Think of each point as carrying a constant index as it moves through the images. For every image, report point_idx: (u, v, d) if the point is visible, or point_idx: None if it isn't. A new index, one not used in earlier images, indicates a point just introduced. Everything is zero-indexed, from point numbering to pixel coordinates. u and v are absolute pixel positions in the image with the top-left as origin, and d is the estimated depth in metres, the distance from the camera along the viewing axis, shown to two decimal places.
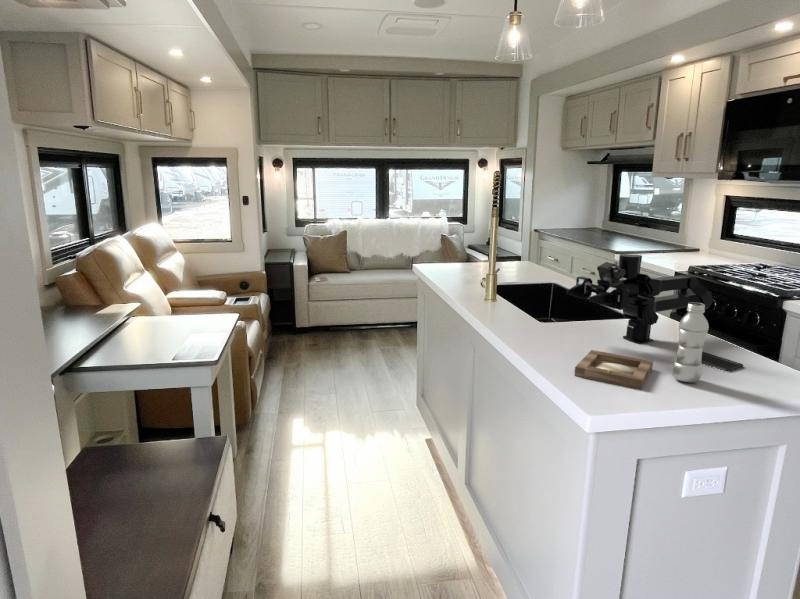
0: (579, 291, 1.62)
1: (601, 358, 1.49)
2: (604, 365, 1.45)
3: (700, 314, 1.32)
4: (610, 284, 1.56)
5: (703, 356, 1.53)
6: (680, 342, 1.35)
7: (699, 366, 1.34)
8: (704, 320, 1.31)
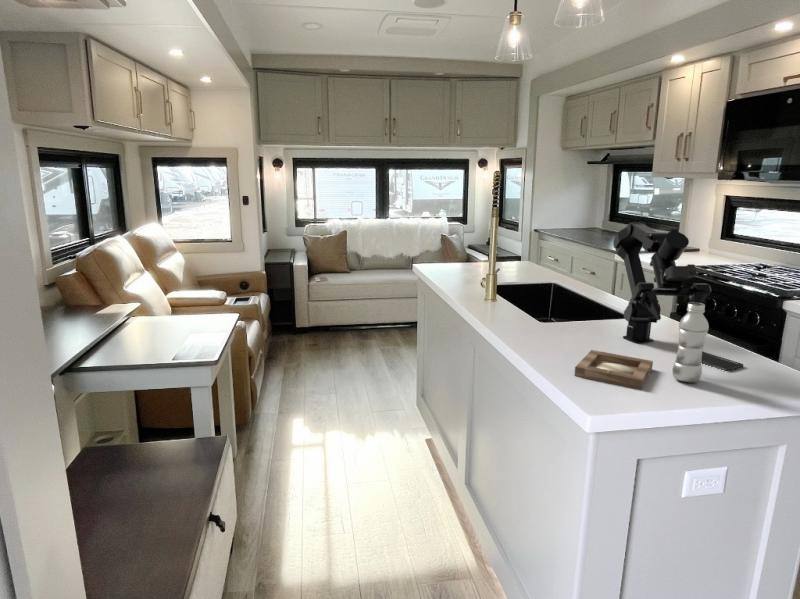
0: None
1: (601, 358, 1.49)
2: (604, 365, 1.45)
3: (700, 314, 1.32)
4: (683, 283, 1.44)
5: (703, 356, 1.53)
6: (680, 342, 1.35)
7: (699, 366, 1.34)
8: (704, 320, 1.31)
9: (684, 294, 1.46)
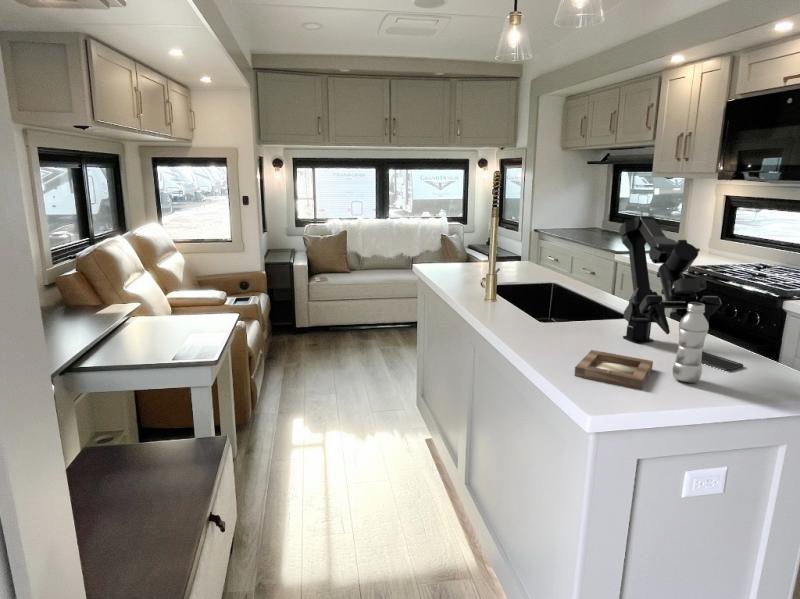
0: None
1: (601, 358, 1.49)
2: (604, 365, 1.45)
3: (700, 314, 1.32)
4: (692, 296, 1.40)
5: (703, 356, 1.53)
6: (680, 342, 1.35)
7: (699, 366, 1.34)
8: (704, 320, 1.31)
9: None
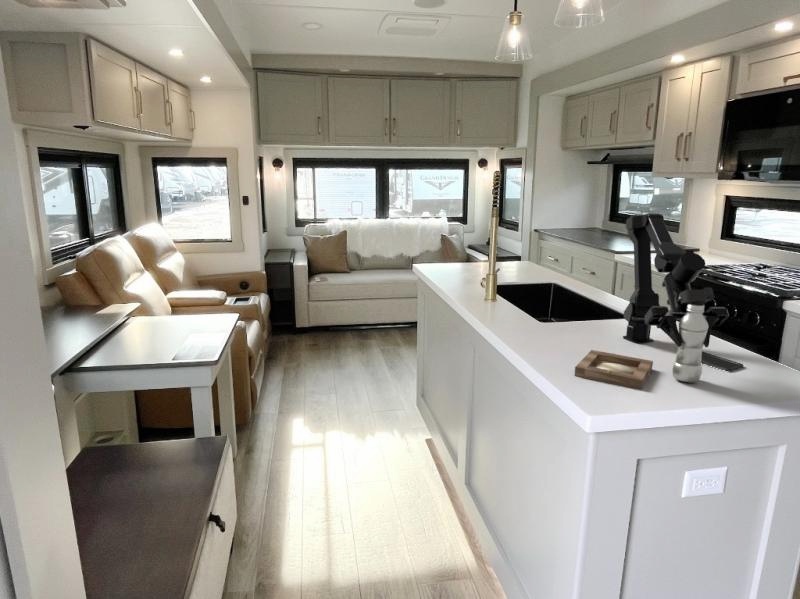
0: None
1: (601, 358, 1.49)
2: (604, 365, 1.45)
3: (700, 314, 1.32)
4: None
5: (703, 356, 1.53)
6: None
7: (699, 366, 1.34)
8: (703, 320, 1.31)
9: None
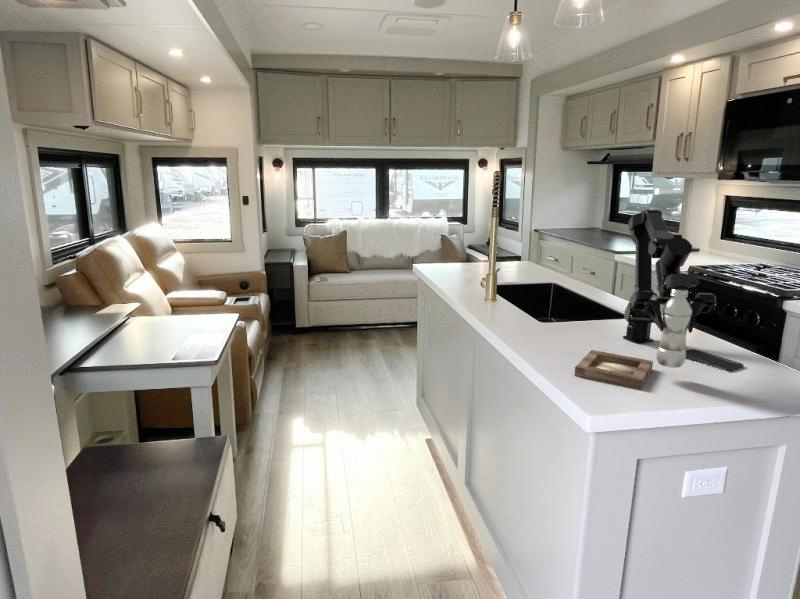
0: None
1: (601, 358, 1.49)
2: (604, 365, 1.45)
3: (682, 299, 1.31)
4: None
5: (703, 356, 1.53)
6: None
7: (682, 352, 1.33)
8: (686, 305, 1.31)
9: None
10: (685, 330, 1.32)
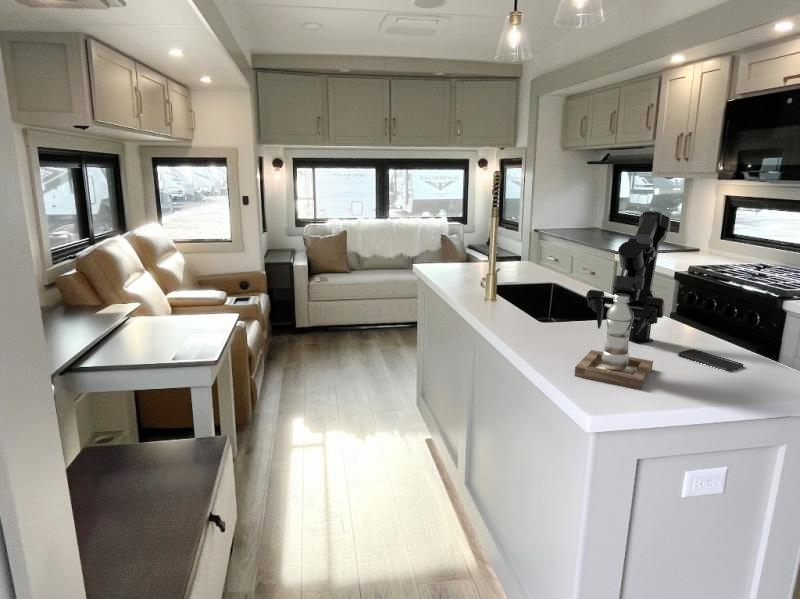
0: (602, 312, 1.43)
1: (601, 358, 1.49)
2: None
3: (621, 304, 1.37)
4: (634, 295, 1.39)
5: (703, 356, 1.53)
6: None
7: (620, 355, 1.39)
8: (624, 311, 1.36)
9: (637, 306, 1.40)
10: (624, 335, 1.38)
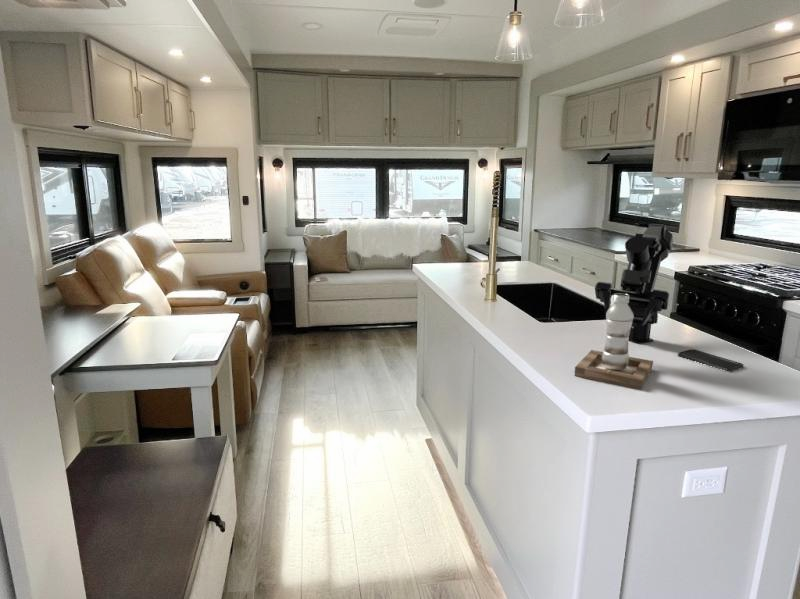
0: (609, 304, 1.51)
1: (601, 358, 1.49)
2: None
3: (621, 304, 1.37)
4: (641, 288, 1.47)
5: (703, 356, 1.53)
6: None
7: (620, 355, 1.39)
8: (624, 311, 1.36)
9: (644, 299, 1.48)
10: (624, 335, 1.38)
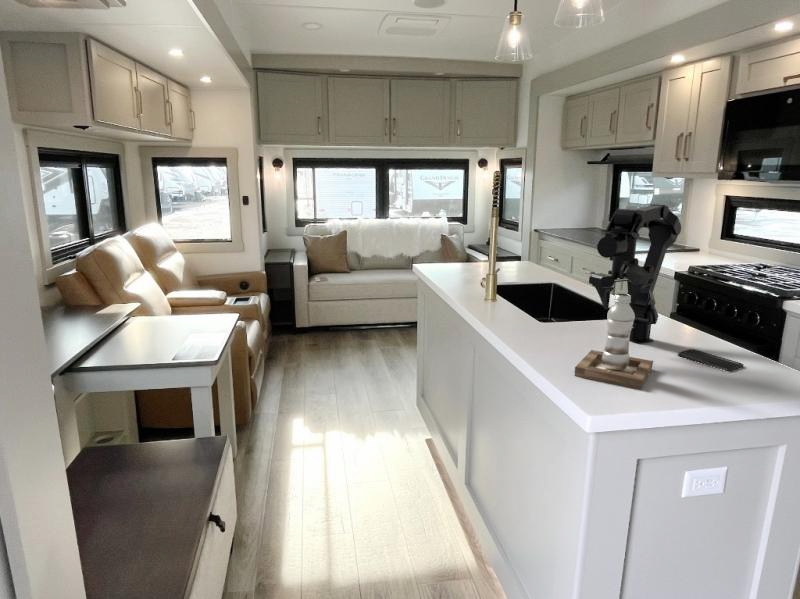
0: None
1: (601, 358, 1.49)
2: None
3: (623, 304, 1.37)
4: None
5: (703, 356, 1.53)
6: (607, 330, 1.41)
7: (621, 356, 1.39)
8: (625, 311, 1.36)
9: None
10: (624, 335, 1.38)
